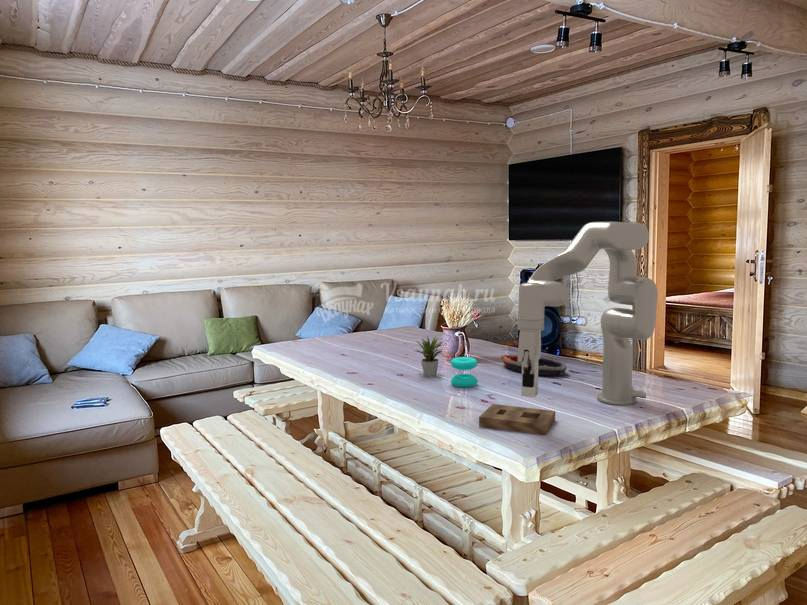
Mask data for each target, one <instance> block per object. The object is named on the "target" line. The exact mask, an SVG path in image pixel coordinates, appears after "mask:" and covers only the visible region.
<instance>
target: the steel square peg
mask: <svg viewBox="0 0 807 605" xmlns="http://www.w3.org/2000/svg"><path fill="white" fill-rule="evenodd" d="M522 360H523V359H522ZM528 363H530V364H531V362H530V361H528ZM529 367H530V366H529ZM533 374H534V386H533V387H532V388H531V387H523V386H522V385H521V394H520V395H521V397H527V398H528V397H529V398H536V397H537V396H538V394H539V375H538V361H537V362H536V363H534V364H533ZM522 381H523V361H522V372H521V382H522Z"/></svg>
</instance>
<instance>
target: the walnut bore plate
mask: <svg viewBox="0 0 807 605" xmlns="http://www.w3.org/2000/svg"><path fill="white" fill-rule="evenodd" d="M555 422H556V411H555V410H549V409H540V408H531V407H524V406H523V407H522V406H515V405H514V406H513V405H505V404H496V403H492V404H491V405H490V406H489V407H488V408H486V409H485V411H483V412H482V413H481V414H480V415H479V416H478V427H480V428H490V429H495V430H504V431H512V432H518V433H520V432H521V433H526V434H527V433H528V434H533V435H541V436H546V435H547V433H548V432H549V430H550V429H551V428H552V426H553V424H554V423H555Z"/></svg>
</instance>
